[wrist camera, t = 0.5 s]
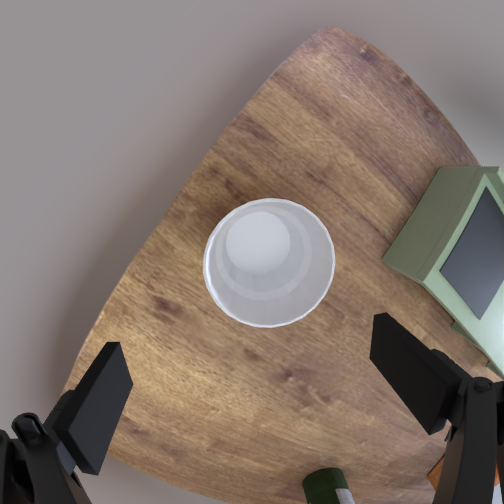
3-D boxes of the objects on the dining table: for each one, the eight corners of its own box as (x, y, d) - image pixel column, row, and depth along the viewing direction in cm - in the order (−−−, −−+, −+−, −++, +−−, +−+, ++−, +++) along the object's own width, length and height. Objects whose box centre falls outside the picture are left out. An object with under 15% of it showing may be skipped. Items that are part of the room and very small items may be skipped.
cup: (316, 214, 32) (353, 226, 22) (284, 298, 33) (305, 340, 24) (228, 181, 30) (229, 179, 21) (198, 270, 32) (187, 305, 22)
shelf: (380, 260, 33) (434, 288, 23) (439, 167, 32) (500, 166, 21) (487, 367, 41) (520, 394, 30) (526, 306, 39) (561, 325, 28)
